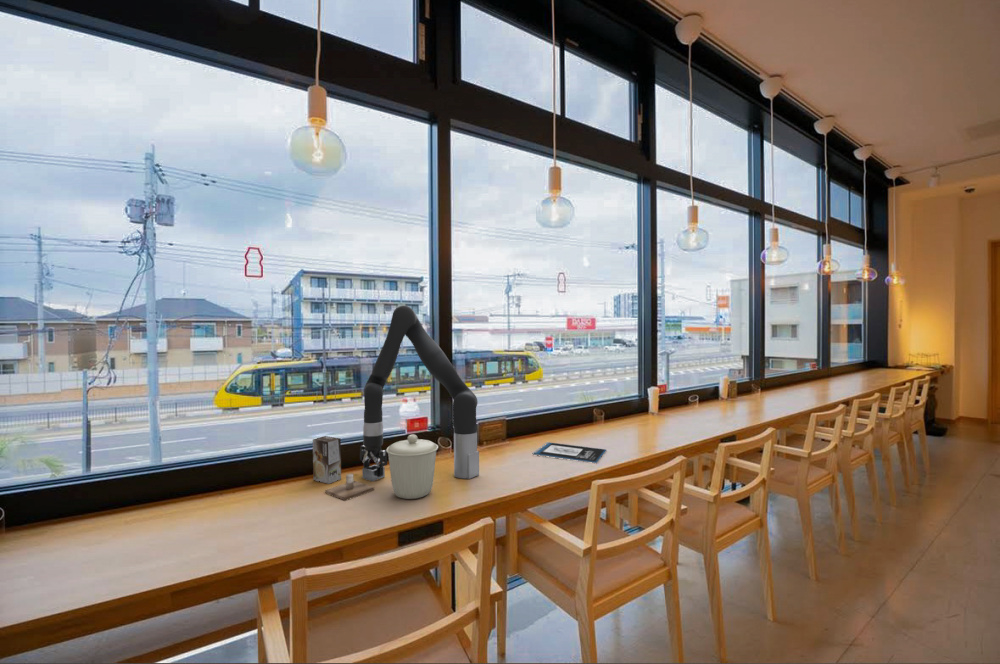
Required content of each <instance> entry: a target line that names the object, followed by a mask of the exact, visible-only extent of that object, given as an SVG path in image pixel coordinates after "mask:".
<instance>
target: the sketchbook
mask: <svg viewBox="0 0 1000 664" xmlns="http://www.w3.org/2000/svg"><path fill="white" fill-rule="evenodd" d="M545 444H546V445H545ZM541 447H542V448H541ZM605 451H606V452H607V449H605V448H597V447H588V446H581V445H580V446H579V445H574V444H564V443H557V442H549V441H546V442H545V443H544V444H542V445H541V446H539V447H538V448H537V449H536V450H534V451H533V452H532V454H533V455H540V456H549V457H555V458H554V459H556V458H563V459H562V460H564V459H570V460H569V461H572V460H578V461H577V462H580V461H584V462H583V463H588V462H592V463H591V464H595V463H598V462H599V461H600V460H601V459H602V457H603V456H604V455H605V453H606V452H605ZM603 454H604V455H603ZM533 455H532V456H533ZM602 455H603V456H602ZM540 456H539V457H540ZM601 456H602V457H601ZM599 459H600V460H599ZM598 460H599V461H598Z"/></svg>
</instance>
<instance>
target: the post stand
mask: <svg viewBox="0 0 1000 664" xmlns="http://www.w3.org/2000/svg"><path fill="white" fill-rule="evenodd" d="M373 491H375V487H374V486H371V485H368V484H365V483H362V482H360V481H357V480H354V473H347V474H345V483H343V484H340V485H337V486H334V487H330V488H327V489H325V490H324V492H325V494H327V493H328V494H327V495H329V494H330V496H332V495H333V496H332V497H334V496H335V498H338V499H339V498H340V500H342V499H343V501H344V500H345V501H348V500H350V498H351V499H353V497H354V498H356V496H357V497H359V496H362V495H364V493H365V494H367V492H368V493H369V492H373ZM361 494H362V495H361ZM358 495H359V496H358ZM347 499H348V500H347Z"/></svg>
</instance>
